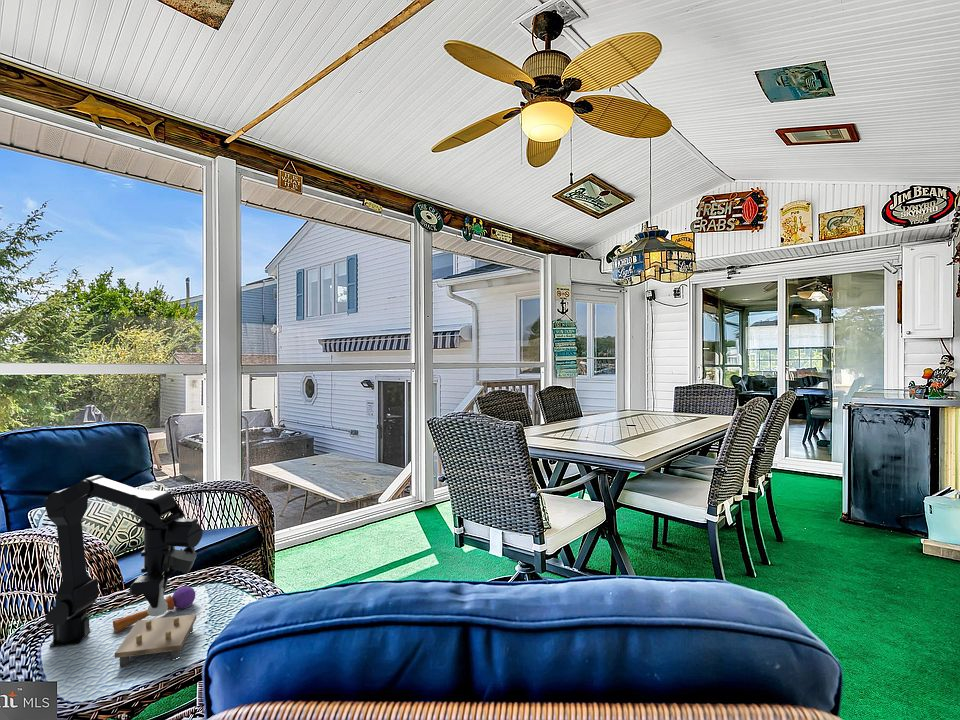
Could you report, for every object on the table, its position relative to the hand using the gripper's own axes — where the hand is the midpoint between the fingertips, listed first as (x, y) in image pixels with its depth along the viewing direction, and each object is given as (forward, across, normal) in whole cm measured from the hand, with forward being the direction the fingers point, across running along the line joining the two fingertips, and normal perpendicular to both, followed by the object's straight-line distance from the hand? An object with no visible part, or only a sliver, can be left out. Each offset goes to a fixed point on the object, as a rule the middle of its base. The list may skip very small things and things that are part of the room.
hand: (157, 603), depth 128 cm
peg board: (+12, 0, 0) cm, 12 cm away
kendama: (+12, +16, +5) cm, 20 cm away
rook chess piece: (+2, 0, 0) cm, 2 cm away
